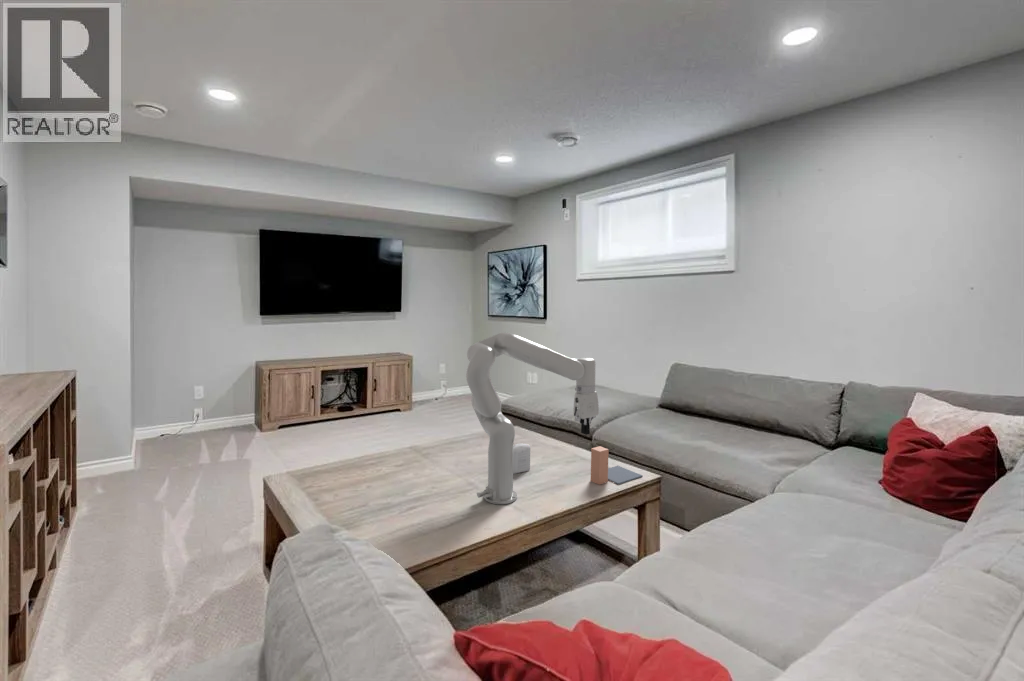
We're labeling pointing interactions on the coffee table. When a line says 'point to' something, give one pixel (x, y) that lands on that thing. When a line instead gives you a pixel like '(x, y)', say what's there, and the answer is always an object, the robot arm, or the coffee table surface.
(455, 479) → the coffee table surface
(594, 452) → the terracotta block
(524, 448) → the photo printer
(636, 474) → the mat
